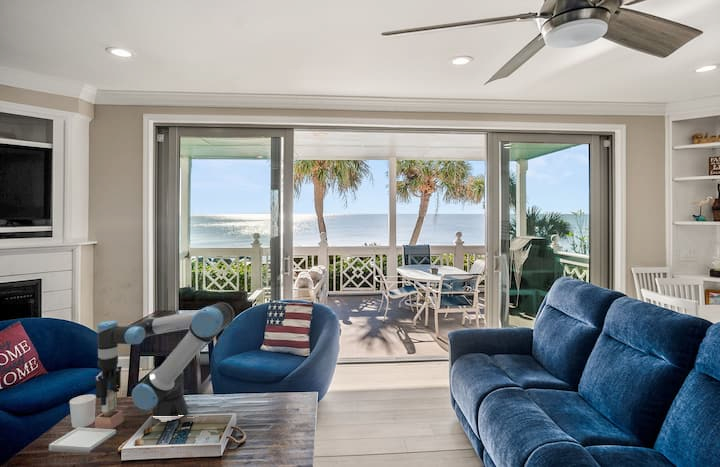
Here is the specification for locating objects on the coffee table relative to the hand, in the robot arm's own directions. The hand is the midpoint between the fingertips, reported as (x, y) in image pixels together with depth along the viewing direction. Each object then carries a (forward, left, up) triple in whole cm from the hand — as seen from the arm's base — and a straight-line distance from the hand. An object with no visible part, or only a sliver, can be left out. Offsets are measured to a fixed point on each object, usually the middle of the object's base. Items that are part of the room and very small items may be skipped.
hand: (109, 409), depth 178 cm
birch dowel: (0, 0, -7) cm, 7 cm away
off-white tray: (+1, +13, -8) cm, 15 cm away
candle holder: (+13, 0, -8) cm, 16 cm away
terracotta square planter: (0, 0, -8) cm, 8 cm away
